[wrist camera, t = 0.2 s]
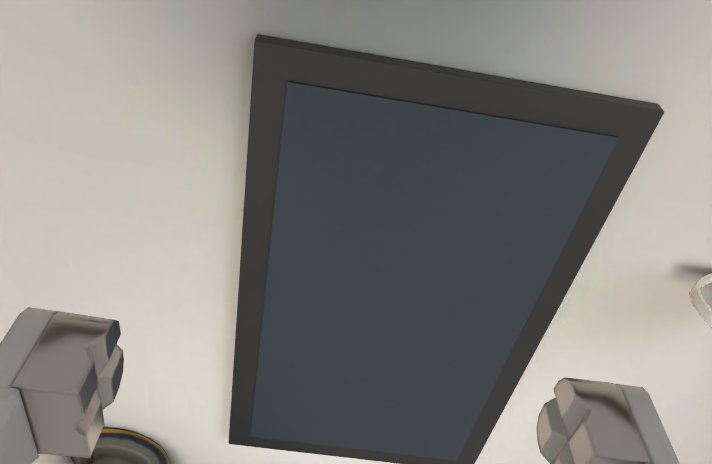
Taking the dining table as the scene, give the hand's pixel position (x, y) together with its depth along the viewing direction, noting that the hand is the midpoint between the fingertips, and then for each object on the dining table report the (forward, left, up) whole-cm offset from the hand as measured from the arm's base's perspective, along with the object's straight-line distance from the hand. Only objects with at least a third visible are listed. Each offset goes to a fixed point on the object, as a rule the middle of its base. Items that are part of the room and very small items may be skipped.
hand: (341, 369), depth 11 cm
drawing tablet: (+24, +7, -26) cm, 36 cm away
